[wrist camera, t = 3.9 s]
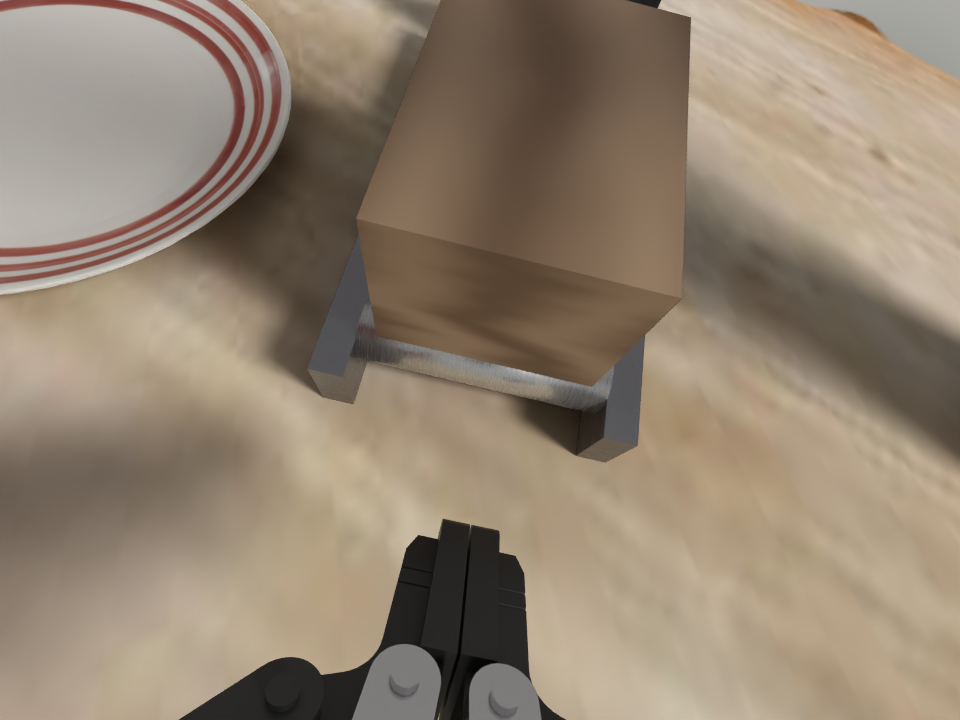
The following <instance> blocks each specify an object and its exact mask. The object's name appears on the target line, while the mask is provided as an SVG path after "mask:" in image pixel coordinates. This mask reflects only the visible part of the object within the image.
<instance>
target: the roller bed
mask: <svg viewBox="0 0 960 720" xmlns="http://www.w3.org/2000/svg"><path fill="white" fill-rule="evenodd" d="M627 1H631V2H635V3H638V4H642V5H646V6H650V7H653V8H658V6H659V4H660V1H661V0H627ZM644 342H645V335H644V336H643V337H642V338H641V339H640V340H639V341H638V342H637V343H636V344H635V345H634V346H633V347H632V348H631V349H630V350H629V351H628V352H627V353H626V354H625V355H624V356H623V357H622V358H621V359H620V360H619V361H618V362H617V363H616V364H615V365H614V366H613V367H612V368H611V369H610V370H609V371H608V372H607V373H606V374H605V375H604V376H603V377H602V378H601V379H600V380H599V381H598V382H597V383H596V384H595V385H594V386H593V387H590V386H586V385H581V384H577V383H573V382H569V381H564V380H560V379H556V378H552V377H548V376H543V375H539V374H535V373H531V372H526V371H522V370H518V369H514V368H510V367H505V366H501V365H497V364H493V363H488V362H484V361H480V360H476V359H472V358H467V357H463V356H459V355H455V354H450V353H446V352H442V351H438V350H433V349H429V348H425V347H421V346H417V345H412V344H408V343H404V342H400V341H395V340H391V339H387V338H383V337H379V336H376V331H375V325H374V320H373V314H372V308H371V302H370V296H369V291H368V285H367V279H366V273H365V267H364V262H363V256H362V250H361V244H360V238H359V233H358V236H357V239H356V241H355V244H354V247H353V249H352V252H351V254H350V257H349V260H348V262H347V265H346V268H345V270H344V273H343V275H342V278H341V281H340V283H339V286H338V289H337V291H336V294H335V296H334V299H333V302H332V304H331V307H330V309H329V312H328V315H327V317H326V320H325V323H324V325H323V328H322V330H321V333H320V336H319V338H318V341H317V344H316V346H315V349H314V351H313V354H312V357H311V359H310V362H309V365H308V367H307V370H308V371H309V373H310V375H311V377H312V379H313V380H314V382H315V384H316V386H317V387H318V389H319V391H320V393H321V395H322V396H323V397H325V398H329V399H333V400H337V401H342V402H346V403H350V404H353V403H354V400H355V397H356V394H357V391H358V388H359V385H360V382H361V379H362V376H363V373H364V370H365V367H366V364H367V361H371V362H375V363H380V364H384V365H388V366H392V367H397V368H401V369H405V370H409V371H414V372H418V373H422V374H427V375H431V376H435V377H439V378H444V379H448V380H452V381H456V382H461V383H465V384H469V385H473V386H478V387H482V388H486V389H490V390H495V391H499V392H503V393H507V394H512V395H516V396H520V397H525V398H529V399H533V400H537V401H542V402H546V403H550V404H554V405H559V406H563V407H567V408H571V409H576V410H580V411H581V420H580V428H579V437H578V445H577V454H576V456H580V457H584V458H588V459H593V460H597V461H601V462H607V461H609V460H611V459H613V458H615V457H617V456H619V455H621V454H623V453H625V452H627V451H628V450H630V449H632V448H634V447H636V446H638V432H639V417H640V402H641V387H642V372H643V357H644Z"/></svg>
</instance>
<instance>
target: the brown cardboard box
mask: <svg viewBox="0 0 960 720" xmlns="http://www.w3.org/2000/svg"><path fill="white" fill-rule="evenodd" d="M690 28H691V17H687V16H683V15H680V14H676V13H672V12H668V11H665V10H661V9H657V8H653V7H650V6H646V5H642V4H638V3H635V2H631V1H627V0H441V2H440V4H439V7H438V10H437V12H436V15H435V17H434V20H433V22H432V25H431V28H430V30H429V33H428V35H427V38H426V40H425V43H424V46H423V48H422V51H421V53H420V56H419V58H418V61H417V63H416V66H415V69H414V71H413V74H412V76H411V79H410V81H409V84H408V87H407V89H406V92H405V94H404V97H403V99H402V102H401V104H400V107H399V110H398V112H397V115H396V117H395V120H394V122H393V125H392V128H391V130H390V133H389V135H388V138H387V140H386V143H385V146H384V148H383V151H382V153H381V156H380V158H379V161H378V163H377V166H376V169H375V171H374V174H373V176H372V179H371V181H370V184H369V187H368V189H367V192H366V194H365V197H364V199H363V202H362V205H361V207H360V210H359V212H358V215H357V217H356V221H357V227H358V233H359V238H360V244H361V250H362V256H363V262H364V267H365V273H366V279H367V285H368V291H369V296H370V302H371V308H372V314H373V320H374V325H375V331H376V336H379V337H383V338H387V339H391V340H395V341H400V342H404V343H408V344H412V345H417V346H421V347H425V348H429V349H433V350H438V351H442V352H446V353H450V354H455V355H459V356H463V357H467V358H472V359H476V360H480V361H484V362H488V363H493V364H497V365H501V366H505V367H510V368H514V369H518V370H522V371H526V372H531V373H535V374H539V375H543V376H548V377H552V378H556V379H560V380H564V381H569V382H573V383H577V384H581V385H586V386H590V387H593V386H594V385H595V384H596V383H597V382H598V381H599V380H600V379H601V378H602V377H603V376H604V375H605V374H606V373H607V372H608V371H609V370H610V369H611V368H612V367H613V366H614V365H615V364H616V363H617V362H618V361H619V360H620V359H621V358H622V357H623V356H624V355H625V354H626V353H627V352H628V351H629V350H630V349H631V348H632V347H633V346H634V345H635V344H636V343H637V342H638V341H639V340H640V339H641V338H642V337H643V336H644V335H645V334H646V333H647V332H648V331H650V330H651V329H652V328H653V327H654V326H655V325H656V324H657V323H658V322H659V321H660V320H661V319H662V318H663V317H664V316H665V315H666V314H667V313H668V312H669V311H670V310H671V309H672V308H673V307H674V306H675V305H676V304H677V303H678V302H679V301H680V300H681V299H682V286H683V254H684V221H685V189H686V157H687V125H688V92H689V60H690Z"/></svg>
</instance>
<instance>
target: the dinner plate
mask: <svg viewBox="0 0 960 720" xmlns="http://www.w3.org/2000/svg"><path fill="white" fill-rule="evenodd" d="M291 98H292V91H291V80H290V74H289V70H288V66H287V62H286V60H285V57H284V54H283V52H282V50H281V48H280V46H279V44H278V42H277V40H276V39H275V37H274V35H273V34H272V32H271V31H270V29H269V28H268V27H267V25H266V24H265V23H264V22H263V21H262V20H261V19H260V18H259V16H258V15H257V14H256V13H254V12H253V11H252V10H251V9H250V8H249V7H248V6H247V5H246V4H245V3H244V2H242V1H241V0H0V295H5V294H14V293H20V292H26V291H32V290H38V289H44V288H50V287H54V286H58V285H62V284H67V283H71V282H75V281H79V280H83V279H86V278H89V277H93V276H96V275H99V274H103V273H106V272H109V271H112V270H115V269H117V268H120V267H123V266H126V265H128V264H131V263H134V262H136V261H138V260H141V259H143V258H145V257H147V256H150V255H152V254H154V253H156V252H158V251H160V250H162V249H164V248H166V247H169V246H171V245H173V244H174V243H176V242H177V241H179V240H181V239H182V238H184V237H186V236H188V235H189V234H190V233H192V232H194V231H196V230H198V229H199V228H201V227H203V226H204V225H206V224H207V223H208V222H210V221H211V220H212V219H214V218H215V217H217V216H218V215H219V214H221V213H222V212H223V211H224V210H225V209H227V208H228V207H229V206H230V205H232V204H233V203H234V202H235V201H236V200H237V199H239V198H240V197H241V196H242V195H243V194H244V193H245V192H246V191H247V190H248V189H249V188H250V187H251V186H252V185H253V183H254V182H255V181H256V180H257V179H258V177H259V176H260V175H261V174H262V173H263V171H264V170H265V169H266V168H267V166H268V165H269V164H270V162H271V160H272V159H273V157H274V155H275V154H276V152H277V150H278V148H279V145H280V143H281V141H282V139H283V136H284V133H285V130H286V127H287V124H288V121H289V116H290V110H291Z"/></svg>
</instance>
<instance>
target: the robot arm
mask: <svg viewBox="0 0 960 720" xmlns="http://www.w3.org/2000/svg"><path fill="white" fill-rule="evenodd" d="M499 538H500V534H499V531H498V530H493V529H489V528H484V527H479V526H475V525H471V528H470V524H465V523H460V522H456V521H451V520H447V519H443V520H442V523H441V527H440V531H439V535H438V539H434V538H429V537H425V536H420V535H418V536H417V537H416V538H415V539H414V541H413V542H412V543H411V544H410V545H409V546H408V547H407V548H406V552H405V556H404V559H403V563H402V567H401V571H400V575H399V578H398V582H397V586H396V590H395V594H394V597H393V601H392V605H391V609H390V613H389V616H388V620H387V624H386V628H385V632H384V635H383V639H382V642H381V645H380V647H379V648H378V650H377V652H376V653H375V654H374V656H373V657H372V658H371V659H370V660H369V661H367V662H366V663H364V664H363V665H361V666H359V667H358V668H355V669H353V670H350V671H346V672H340V673H333V674H326V675H321V674H320V673H319V671H318V670H317V668H316V667H315V666H314V665H312V664H311V663H310V662H308V661H306V660H304V659H300V658H295V657H286V658H280V659H276V660H273V661H271V662H269V663H267V664H265V665H263V666H262V667H260V668H259V669H257V670H255V671H254V672H252V673H251V674H249V675H248V676H246V677H245V678H243V679H241V680H240V681H238V682H237V683H235V684H234V685H232V686H231V687H229V688H227V689H226V690H224V691H223V692H221V693H220V694H218V695H217V696H215V697H213V698H212V699H210V700H209V701H207V702H206V703H204V704H202V705H201V706H199V707H198V708H196V709H195V710H193V711H192V712H190V713H188V714H187V715H185V716H184V717H182V718H181V719H179V720H437V719H438V716H439V720H565V719H564V718H562V717H560V716H559V715H557V714H556V713H554V712H553V711H552V710H551V709H549V708H548V707H547V706H546V705H545V704H544V703H543V701H542V700H541V699H540V697H539V696H538V695H537V693H536V690H535V688H534V687H533V685H532V682H531V679H530V674H529V662H528V641H527V621H526V611H525V609H526V600H525V580H524V572H523V570H522V568H521V566H520V564H519V562H518V560H517V558H516V556H513V555H509V554H504V553H499ZM439 713H440V715H439Z"/></svg>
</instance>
